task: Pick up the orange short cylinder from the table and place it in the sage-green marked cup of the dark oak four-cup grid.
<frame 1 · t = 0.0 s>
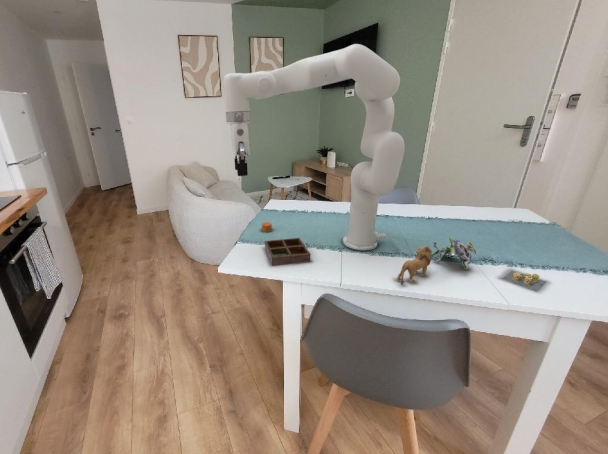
hand: (241, 172, 97), 31 cm above the table, tool pointing down, fingers open, 9 cm apart
lion figurine: (412, 276, 91), on the table
dice set: (523, 280, 87), on the table
grid: (286, 254, 108), on the table
passion flower: (449, 265, 96), on the table
orange short cylinder: (266, 230, 130), on the table
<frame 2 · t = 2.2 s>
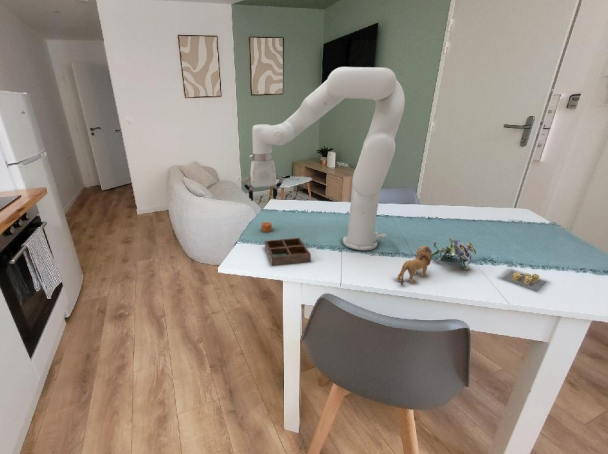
hand: (263, 199, 121), 15 cm above the table, tool pointing down, fingers open, 9 cm apart
nothing on the table moved.
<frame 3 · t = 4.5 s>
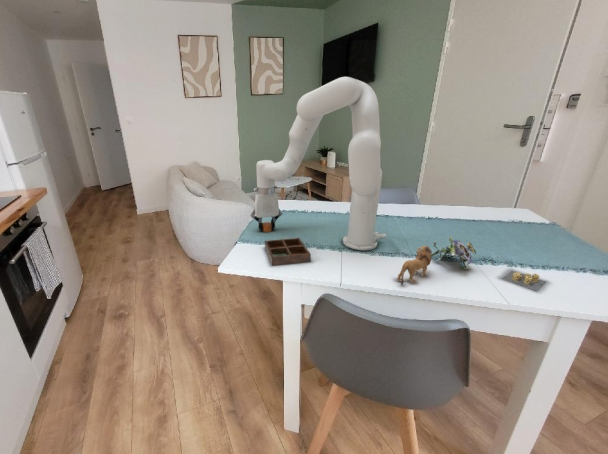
hand: (266, 229, 129), 0 cm above the table, tool pointing down, fingers closed on orange short cylinder, 4 cm apart
orange short cylinder: (266, 230, 130), on the table, touching gripper
everything else where it was.
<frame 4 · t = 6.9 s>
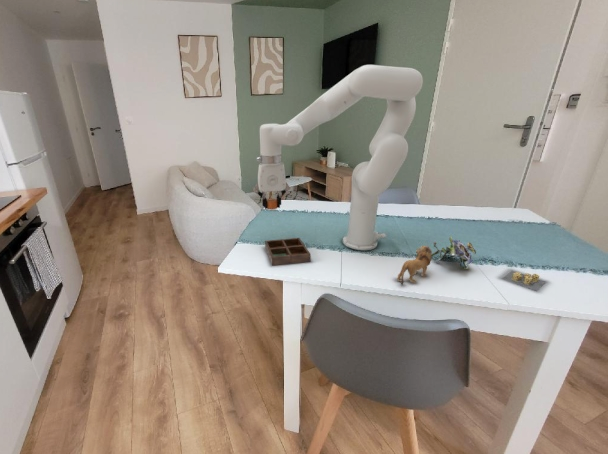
hand: (271, 206, 112), 15 cm above the table, tool pointing down, fingers closed on orange short cylinder, 4 cm apart
orange short cylinder: (271, 207, 112), point 15 cm above the table, touching gripper
everything else where it was.
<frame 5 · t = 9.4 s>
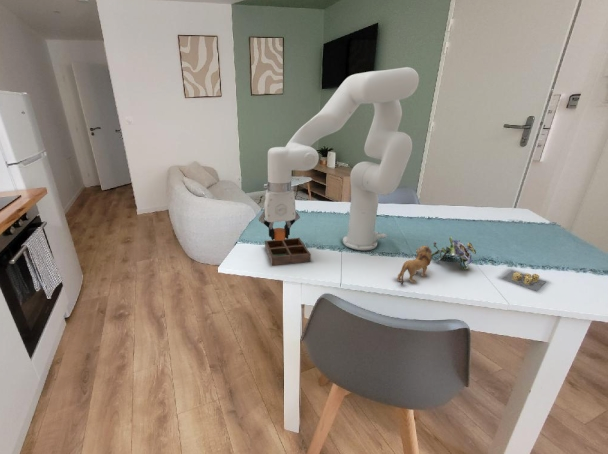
hand: (279, 237, 101), 9 cm above the table, tool pointing down, fingers closed on orange short cylinder, 4 cm apart
orange short cylinder: (279, 238, 101), point 9 cm above the table, touching gripper
everything else where it was.
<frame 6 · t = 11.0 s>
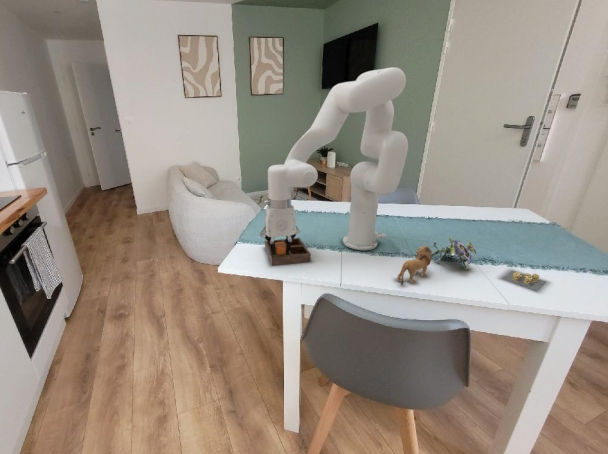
hand: (280, 251, 103), 3 cm above the table, tool pointing down, fingers closed on orange short cylinder, 4 cm apart
orange short cylinder: (280, 251, 103), point 3 cm above the table, touching gripper
everything else where it was.
when the fingers open (4 cm above the table, at t = 14.7 s): orange short cylinder drops 3 cm, resting on grid.
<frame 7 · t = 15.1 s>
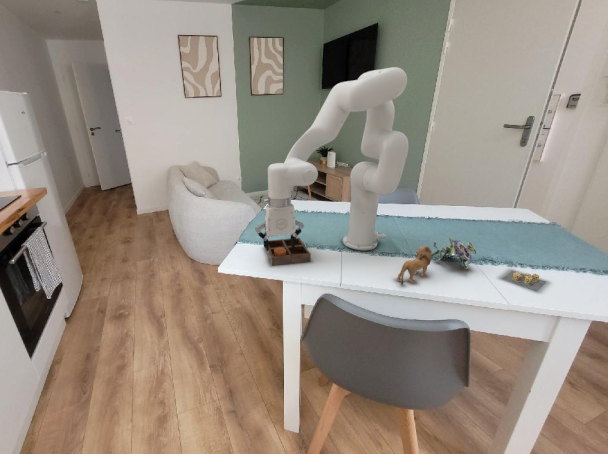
hand: (279, 247, 103), 5 cm above the table, tool pointing down, fingers open, 8 cm apart
orange short cylinder: (280, 257, 104), point 1 cm above the table, touching grid
everything else where it was.
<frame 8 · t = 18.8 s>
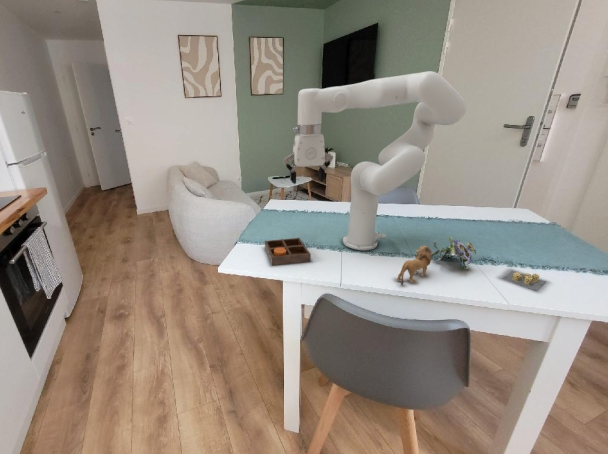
hand: (307, 181, 101), 26 cm above the table, tool pointing down, fingers open, 9 cm apart
nothing on the table moved.
at the end: orange short cylinder 0.1 cm from the target spot in the grid, point 0.8 cm above the grid's base; orange short cylinder tilted 0°; the gripper is holding nothing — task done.
